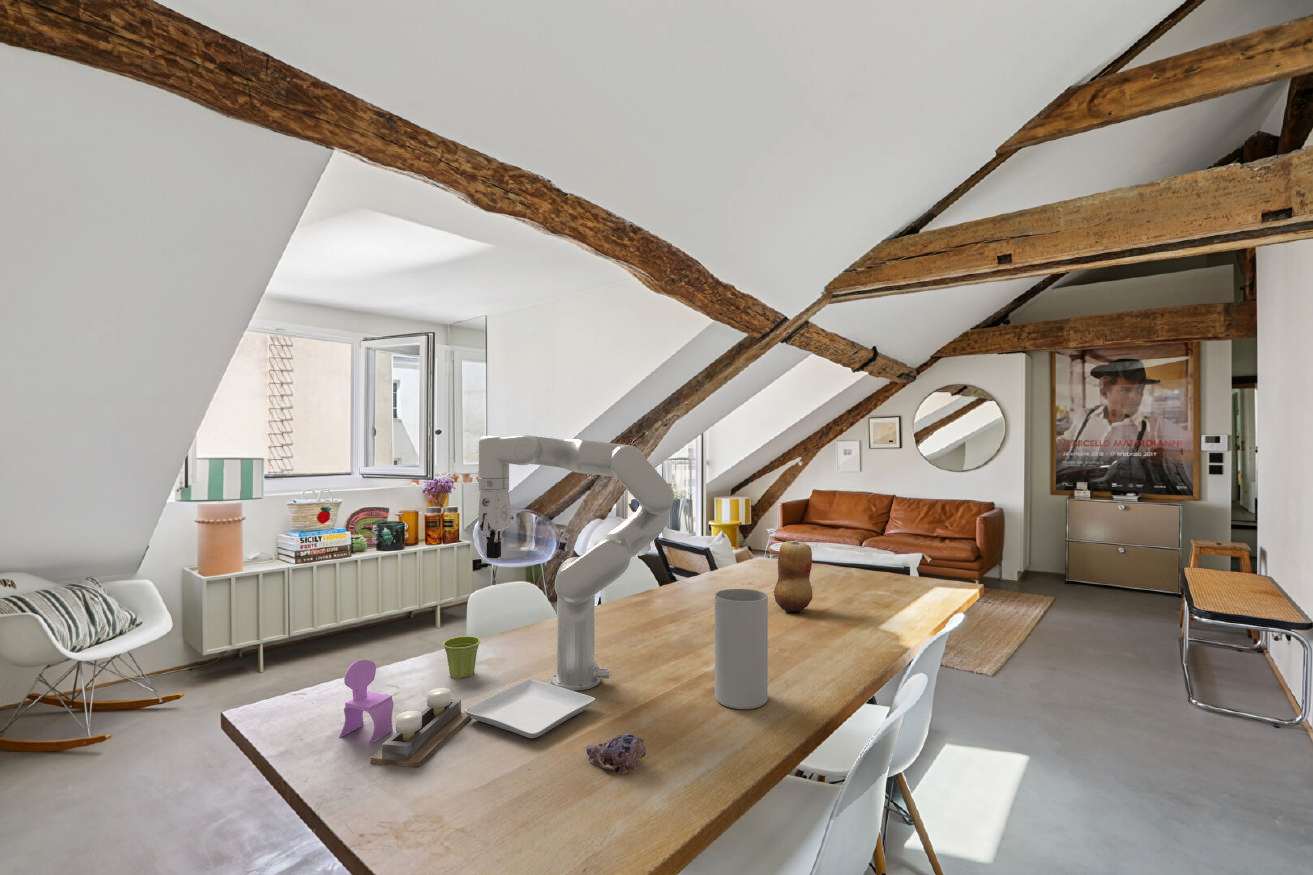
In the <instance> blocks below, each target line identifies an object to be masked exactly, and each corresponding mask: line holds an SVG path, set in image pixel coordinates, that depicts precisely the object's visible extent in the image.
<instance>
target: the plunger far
mask: <svg viewBox="0 0 1313 875" xmlns="http://www.w3.org/2000/svg"><path fill="white" fill-rule="evenodd" d="M426 695H427V696H426V697H427V698H426V705H427V708H428V707H430V708H434V718H436V717H437V716H438V715H439V714H440V713H442V712H443V711H444V707H445V706H447V705H449V704H450V703H451V699H452V696H451V689H450V688H448V687H439V688H433V689H431V690H429V691H427V693H426Z"/></svg>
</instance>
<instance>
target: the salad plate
mask: <svg viewBox="0 0 1313 875" xmlns="http://www.w3.org/2000/svg"><path fill="white" fill-rule="evenodd" d="M595 701H596V698H595V697H593V696H591V695H588V694H585V693H582V692H579V691H571V690H568V689H565V688H561V687H558V686H554V685H551V683H546V682H543V681H540V680H537V679H536V680H535V679H532V678H531V679H530V678H529V679H527V680H525V681H522V682H520V683H518V684H516V685H513V686H511V687H510V688H507V689H505V690H502V691H501V692H498V693H496V694H495V695H492V696H490V697H488V698H485V699H484V700H482V701H480V702H477V703H475V704H473V705H471V706H469V707H467V708H465V709H464V711H463V712H464V713H466V714H467V715H468V716H470V717H471V718H470V719H473V720H475V721H478V722H480V723H481V722H482V723H484V724H488V725H491V726H494V727H497V728H500V729H502V730H505V731H509V732H512V733H514V734H518V735H520V736H523V737H525V738H529V739H535V738H539V737H541V736H542V735H544V734H546V733H548V732H549V731H550V730H552V729H554V728H555V727H557V726H559V725H561V724H563V723H564V722H566V721H567V720H570V719H571V718H574V717H575V716H577V715H578V714H580V713H582V712H584V711H585V710H587V709H588V708H589V707H591V706H592V705H593V704H594V703H595Z"/></svg>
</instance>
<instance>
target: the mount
mask: <svg viewBox="0 0 1313 875" xmlns="http://www.w3.org/2000/svg"><path fill="white" fill-rule="evenodd" d="M420 712H421V711H420ZM421 713H422V727H421V729H419V730H418V731H416V732H415V736H413V737H412V738H411V739H410V740H409V741H408V742H403V734H402V733H398V732H395V733H394V734H393V735H392V736H390V737H389V738H388V739H387V740H386V741H384V742H382V744H381V749H379V750H378V751H377V752H375V754H373V755H372V756H371V757H370V764H377V765H378V764H379V765H385V766H386V765H388V766H399V767H409V768H410V767H411V768H420V767H421V766H422V765H423V764H424V763H425V762H426V761H427V760H429V758H431V757H432V756H433V755H434V754H435V753H436V752H437V751H438V750H439V749H440V748H441V747H442V746H443V745H444V744H445V743H446V742H447V741H449V739H450V738H451V737H453V735H455V734H456V733H457V732H458V731H459V730H460V729H461V728H462V727H463V726H464V725H465V724H466V723H467V722H468V721H469V720H470V719H472V718H471V717H470V716H468V715H467V714H466V713H465V712H464V711H463V712H462V700H461V699H457V698H456V699H454V698H451V703H450V704H449V705H447V706H445V707H444V711H443V712H442V713H440V714H439V715H438V716H437V717H436V718H434V708H430V707H428V706H427V707H426V708H425V709H424V710H423V711H422V712H421Z"/></svg>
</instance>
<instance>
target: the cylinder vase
mask: <svg viewBox="0 0 1313 875" xmlns="http://www.w3.org/2000/svg"><path fill="white" fill-rule="evenodd" d="M768 600H769V595H768V594H767V593H766V592H763V591H760V590H756V589H750V588H727V589H721V590H718V591H716V592H715V593H714V698H715V700H716V701H717V702H718V703H719V704H720V705H722V706H724V707H727V708H730V709H736V710H754V709H758V708H761V707H762V706H764V705H765V704H766V703H767V701H768V696H769V695H768V691H769V689H768V686H769V685H768V682H769V681H768V678H769V677H768V674H769V672H768V670H769V668H768V667H769V665H768V660H769V659H768V658H769V657H768V656H769V655H768V654H769V651H768V649H769V647H768V645H769V643H768V641H769V639H768V638H769V636H768V634H769V632H768V631H769V624H768V623H769V622H768V621H769V618H768V617H769V611H768V610H769V601H768Z"/></svg>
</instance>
